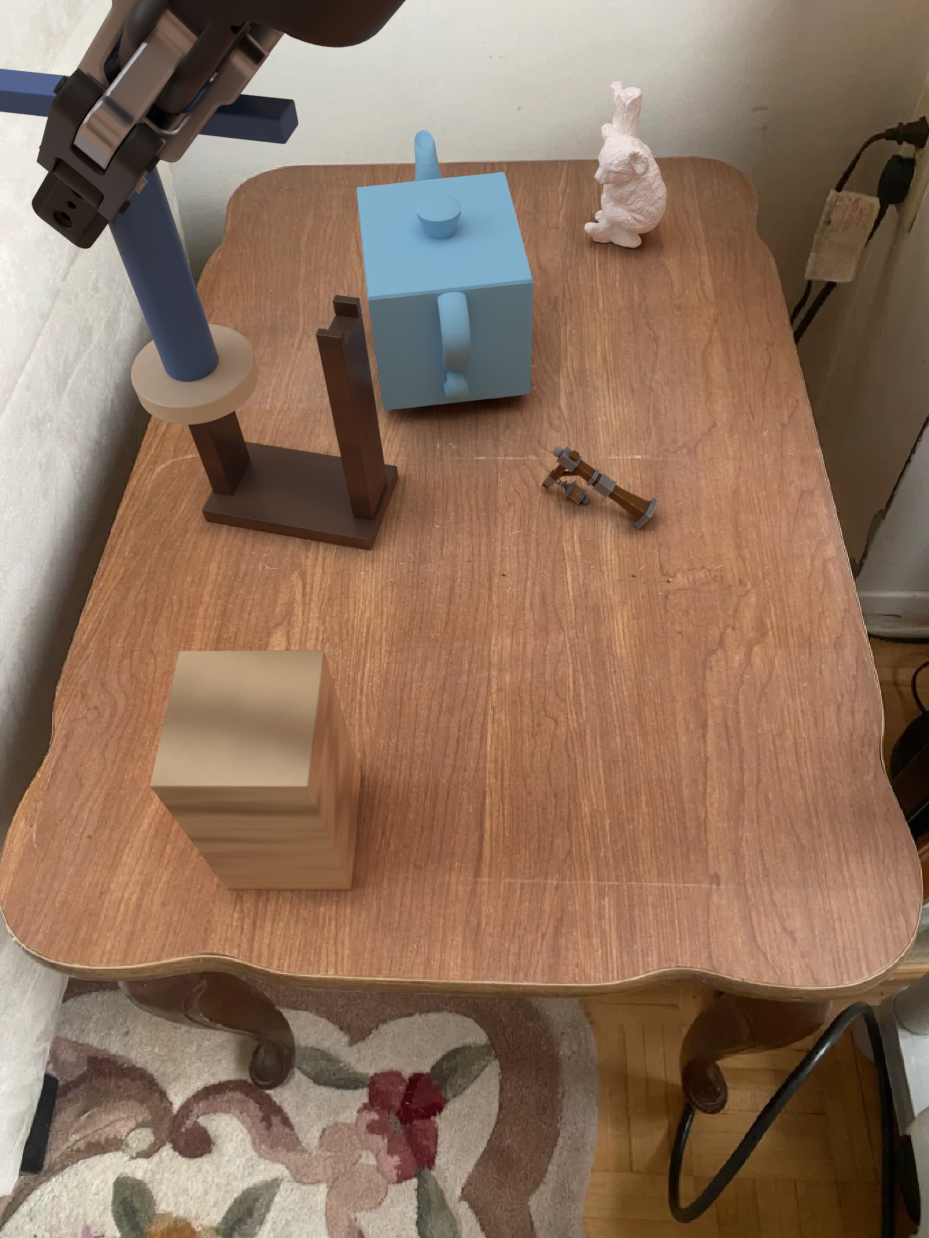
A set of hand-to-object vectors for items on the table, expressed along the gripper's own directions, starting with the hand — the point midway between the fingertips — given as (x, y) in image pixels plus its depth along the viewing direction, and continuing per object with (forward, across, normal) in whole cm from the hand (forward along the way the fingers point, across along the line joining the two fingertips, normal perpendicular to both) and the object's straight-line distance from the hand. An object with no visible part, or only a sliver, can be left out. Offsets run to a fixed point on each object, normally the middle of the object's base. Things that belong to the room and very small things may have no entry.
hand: (81, 201), depth 33 cm
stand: (+26, -15, +21) cm, 36 cm away
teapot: (+22, -33, +25) cm, 47 cm away
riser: (+20, +9, +27) cm, 35 cm away
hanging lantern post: (+11, -18, +36) cm, 42 cm away
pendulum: (+4, 0, +7) cm, 8 cm away
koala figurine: (+14, -50, +33) cm, 62 cm away
